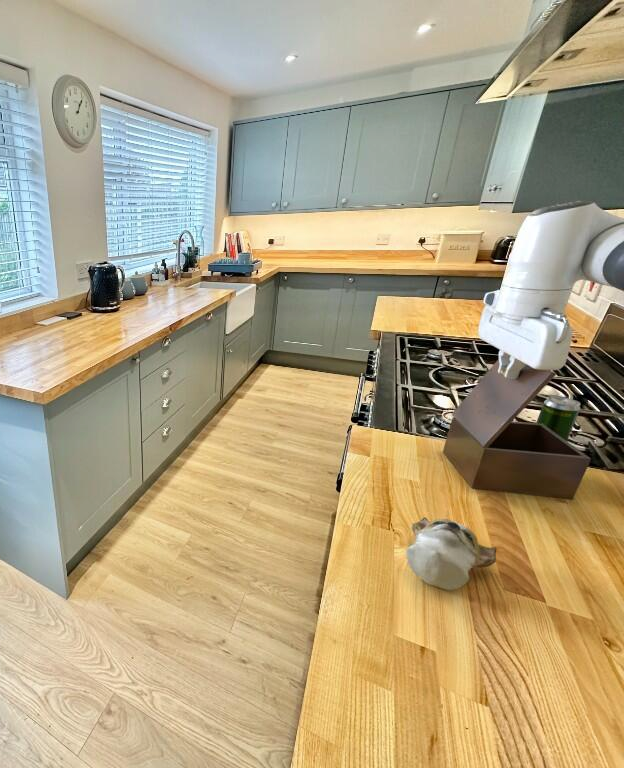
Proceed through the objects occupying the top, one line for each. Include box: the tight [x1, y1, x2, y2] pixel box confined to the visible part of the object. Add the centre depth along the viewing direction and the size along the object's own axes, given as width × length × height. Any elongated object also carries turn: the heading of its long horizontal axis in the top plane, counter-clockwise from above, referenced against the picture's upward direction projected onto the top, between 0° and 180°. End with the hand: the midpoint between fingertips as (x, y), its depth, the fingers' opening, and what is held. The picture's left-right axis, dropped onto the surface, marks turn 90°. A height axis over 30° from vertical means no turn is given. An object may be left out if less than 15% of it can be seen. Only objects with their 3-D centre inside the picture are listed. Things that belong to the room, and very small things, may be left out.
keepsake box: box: [442, 416, 592, 500], centre depth 83 cm, size 16×14×9 cm
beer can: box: [535, 395, 581, 442], centre depth 89 cm, size 5×5×12 cm
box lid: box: [451, 358, 557, 448], centre depth 80 cm, size 16×14×1 cm
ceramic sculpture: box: [405, 516, 497, 591], centre depth 63 cm, size 11×9×15 cm
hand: (507, 376), depth 78 cm, fingers closed, pressing on box lid
